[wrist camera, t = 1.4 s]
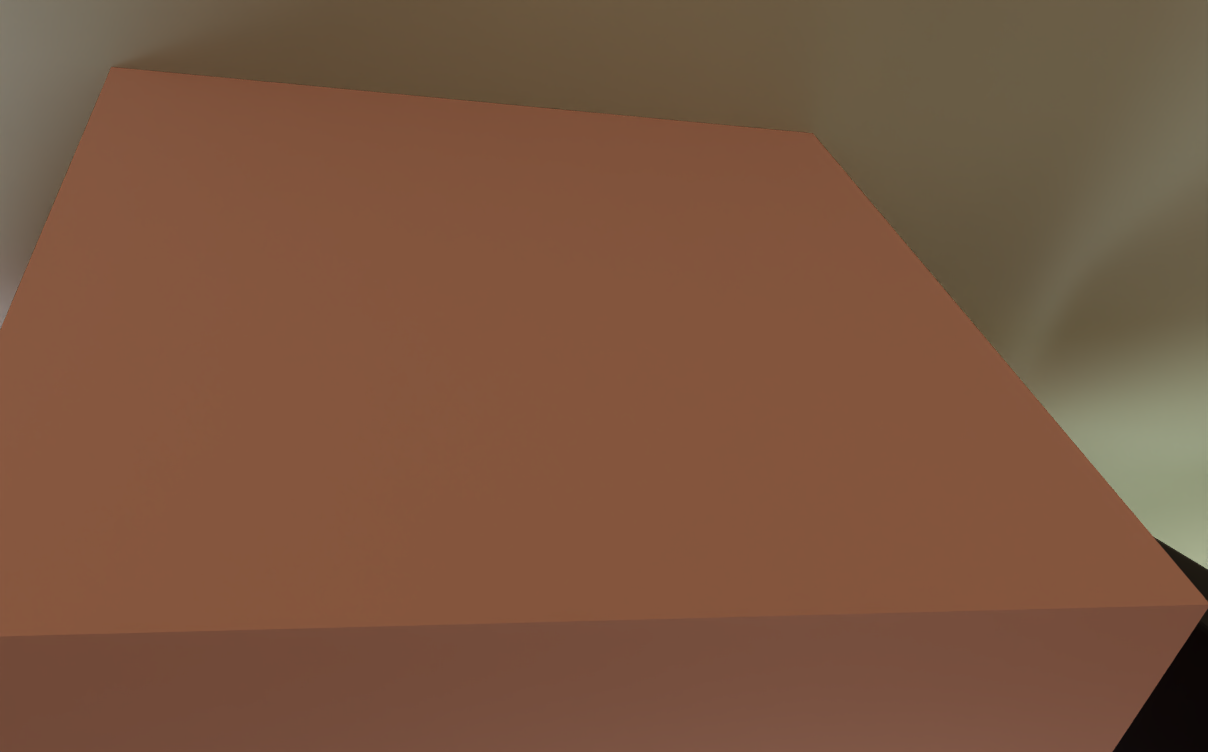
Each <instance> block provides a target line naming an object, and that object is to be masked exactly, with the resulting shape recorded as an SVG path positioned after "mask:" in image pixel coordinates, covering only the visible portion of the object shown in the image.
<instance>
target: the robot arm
mask: <svg viewBox="0 0 1208 752" xmlns="http://www.w3.org/2000/svg"><path fill="white" fill-rule="evenodd" d="M1154 538H1155V537H1154ZM1155 540H1156V541H1157V542H1158V543H1159V544H1160V545H1161V547H1162V548H1163V549H1164V550H1165V551H1166V553H1167V554H1168V555H1169V556H1170V557H1171V559H1172V560H1173V561H1174V562H1175V563H1176V564H1177V566H1178V567H1179V568H1180V569H1181V570H1182V572H1183V573H1184V574H1185V575H1186V576H1187V578H1188V579H1189V580H1190V581H1191V582H1192V583H1193V585H1194V586H1195V587H1196V588H1197V589H1198V591H1199V592H1200V593H1201V594H1202V595H1203V596H1204V598H1205V599H1206V600H1207V601H1208V569H1206V568H1204V567H1203V566H1201V565H1199V564H1198V563H1196V562H1194V561H1193V560H1191V559H1189V558H1188V557H1186V556H1184V555H1183V554H1181V553H1180V552H1178V551H1176V550H1175V549H1173V548H1171V547H1170V546H1168V545H1166V544H1165V543H1163V542H1161V541H1160V540H1158V539H1156V538H1155ZM1113 752H1208V609H1207V610H1206V612H1205V613H1204V615H1203V616H1202V618H1201V619H1200V621H1199V622H1198V624H1197V625H1196V627H1195V628H1194V630H1193V631H1192V633H1191V634H1190V636H1189V637H1188V639H1187V640H1186V642H1185V643H1184V645H1183V646H1182V648H1181V649H1180V651H1179V652H1178V654H1177V655H1176V657H1175V658H1174V660H1173V661H1172V663H1171V664H1170V666H1169V667H1168V669H1167V670H1166V672H1165V674H1164V675H1163V677H1162V678H1161V680H1160V681H1159V683H1158V684H1157V686H1156V687H1155V689H1154V690H1153V692H1152V693H1151V695H1150V696H1149V698H1148V699H1147V701H1146V702H1145V704H1144V705H1143V707H1142V708H1141V710H1140V711H1139V713H1138V714H1137V716H1136V717H1135V719H1134V720H1133V722H1132V723H1131V725H1130V726H1129V728H1128V729H1127V731H1126V732H1125V734H1124V735H1123V737H1122V738H1121V740H1120V741H1119V743H1118V744H1117V746H1116V747H1115V749H1114V750H1113Z"/></svg>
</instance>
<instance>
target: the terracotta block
mask: <svg viewBox="0 0 1208 752" xmlns="http://www.w3.org/2000/svg"><path fill="white" fill-rule="evenodd" d="M1207 609H1208V601H1207V600H1206V599H1205V598H1204V596H1203V595H1202V594H1201V593H1200V592H1199V591H1198V589H1197V588H1196V587H1195V586H1194V585H1193V583H1192V582H1191V581H1190V580H1189V579H1188V578H1187V576H1186V575H1185V574H1184V573H1183V572H1182V570H1181V569H1180V568H1179V567H1178V566H1177V564H1176V563H1175V562H1174V561H1173V560H1172V559H1171V557H1170V556H1169V555H1168V554H1167V553H1166V551H1165V550H1164V549H1163V548H1162V547H1161V545H1160V544H1159V543H1158V542H1157V541H1156V540H1155V538H1154V537H1153V536H1152V535H1151V534H1150V532H1149V531H1148V530H1147V529H1146V528H1145V527H1144V525H1143V524H1142V523H1141V522H1140V521H1139V519H1138V518H1137V517H1136V516H1135V515H1134V513H1133V512H1132V511H1131V510H1130V509H1129V508H1128V506H1127V505H1126V504H1125V503H1124V502H1123V500H1122V499H1121V498H1120V497H1119V496H1118V495H1117V493H1116V492H1115V491H1114V490H1113V489H1112V487H1111V486H1110V485H1109V484H1108V483H1107V481H1106V480H1105V479H1104V478H1103V477H1102V476H1101V474H1100V473H1099V472H1098V471H1097V470H1096V468H1095V467H1094V466H1093V465H1092V464H1091V463H1090V461H1089V460H1088V459H1087V458H1086V457H1085V455H1084V454H1083V453H1082V452H1081V451H1080V449H1079V448H1078V447H1077V446H1076V445H1075V444H1074V442H1073V441H1072V440H1071V439H1070V438H1069V436H1068V435H1067V434H1066V433H1065V432H1064V431H1063V429H1062V428H1061V427H1060V426H1059V425H1058V423H1057V422H1056V421H1055V420H1054V419H1053V417H1052V416H1051V415H1050V414H1049V413H1048V412H1047V410H1046V409H1045V408H1044V407H1043V406H1042V404H1041V403H1040V402H1039V401H1038V400H1037V399H1036V397H1035V396H1034V395H1033V394H1032V393H1031V391H1030V390H1029V389H1028V388H1027V387H1026V385H1025V384H1024V383H1023V382H1022V381H1021V380H1020V378H1019V377H1018V376H1017V375H1016V374H1015V372H1014V371H1013V370H1012V369H1011V368H1010V367H1009V365H1008V364H1007V363H1006V362H1005V361H1004V359H1003V358H1002V357H1001V356H1000V355H999V353H998V352H997V351H996V350H995V349H994V348H993V346H992V345H991V344H990V343H989V342H988V340H987V339H986V338H985V337H984V336H983V334H982V333H981V332H980V331H979V330H978V329H977V327H976V326H975V325H974V324H973V323H972V321H971V320H970V319H969V318H968V317H967V316H966V314H965V313H964V312H963V311H962V310H961V308H960V307H959V306H958V305H957V304H956V302H955V301H954V300H953V299H952V298H951V297H950V295H949V294H948V293H947V292H946V291H945V289H944V288H943V287H942V286H941V285H940V284H939V282H938V281H937V280H936V279H935V278H934V276H933V275H932V274H931V273H930V272H929V270H928V269H927V268H926V267H925V266H924V265H923V263H922V262H921V261H920V260H919V259H918V257H917V256H916V255H915V254H914V253H913V252H912V250H911V249H910V248H909V247H908V246H907V244H906V243H905V242H904V241H903V240H902V238H901V237H900V236H899V235H898V234H897V233H896V231H895V230H894V229H893V228H892V227H891V225H890V224H889V223H888V222H887V221H886V220H885V218H884V217H883V216H882V215H881V214H880V212H879V211H878V210H877V209H876V208H875V206H874V205H873V204H872V203H871V202H870V201H869V199H868V198H867V197H866V196H865V195H864V193H863V192H862V191H861V190H860V189H859V188H858V186H857V185H856V184H855V183H854V182H853V180H852V179H851V178H850V177H849V176H848V174H847V173H846V172H845V171H844V170H843V169H842V167H841V166H840V165H839V164H838V163H837V161H836V160H835V159H834V158H833V157H832V155H831V154H830V153H829V152H828V151H827V150H826V148H825V147H824V146H823V145H822V144H821V142H820V141H819V140H818V139H817V138H816V137H815V135H814V134H813V133H805V132H794V131H784V130H773V129H762V128H752V127H741V126H731V125H720V124H710V123H699V122H688V121H678V120H667V119H657V118H646V117H635V116H625V115H614V114H604V113H593V112H583V111H572V110H561V109H551V108H540V107H530V106H519V105H508V104H498V103H487V102H477V101H466V100H456V99H445V98H434V97H424V96H413V95H403V94H392V93H381V92H371V91H360V90H350V89H339V88H329V87H318V86H307V85H297V84H286V83H276V82H265V81H254V80H244V79H233V78H223V77H212V76H202V75H191V74H180V73H170V72H159V71H149V70H138V69H128V68H117V67H111V69H110V71H109V73H108V76H107V78H106V81H105V83H104V85H103V88H102V90H101V92H100V95H99V97H98V99H97V102H96V104H95V107H94V109H93V111H92V114H91V116H90V118H89V121H88V123H87V126H86V128H85V130H84V133H83V135H82V137H81V140H80V142H79V145H78V147H77V149H76V152H75V154H74V156H73V159H72V161H71V163H70V166H69V168H68V171H67V173H66V175H65V178H64V180H63V182H62V185H61V187H60V190H59V192H58V194H57V197H56V199H55V201H54V204H53V206H52V209H51V211H50V213H49V216H48V218H47V220H46V223H45V225H44V227H43V230H42V232H41V235H40V237H39V239H38V242H37V244H36V246H35V249H34V251H33V254H32V256H31V258H30V261H29V263H28V265H27V268H26V270H25V272H24V275H23V277H22V280H21V282H20V284H19V287H18V289H17V291H16V294H15V296H14V299H13V301H12V303H11V306H10V308H9V310H8V313H7V315H6V318H5V320H4V322H3V325H2V327H1V329H0V752H1113V750H1114V749H1115V747H1116V746H1117V744H1118V743H1119V741H1120V740H1121V738H1122V737H1123V735H1124V734H1125V732H1126V731H1127V729H1128V728H1129V726H1130V725H1131V723H1132V722H1133V720H1134V719H1135V717H1136V716H1137V714H1138V713H1139V711H1140V710H1141V708H1142V707H1143V705H1144V704H1145V702H1146V701H1147V699H1148V698H1149V696H1150V695H1151V693H1152V692H1153V690H1154V689H1155V687H1156V686H1157V684H1158V683H1159V681H1160V680H1161V678H1162V677H1163V675H1164V674H1165V672H1166V670H1167V669H1168V667H1169V666H1170V664H1171V663H1172V661H1173V660H1174V658H1175V657H1176V655H1177V654H1178V652H1179V651H1180V649H1181V648H1182V646H1183V645H1184V643H1185V642H1186V640H1187V639H1188V637H1189V636H1190V634H1191V633H1192V631H1193V630H1194V628H1195V627H1196V625H1197V624H1198V622H1199V621H1200V619H1201V618H1202V616H1203V615H1204V613H1205V612H1206V610H1207Z"/></svg>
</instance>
